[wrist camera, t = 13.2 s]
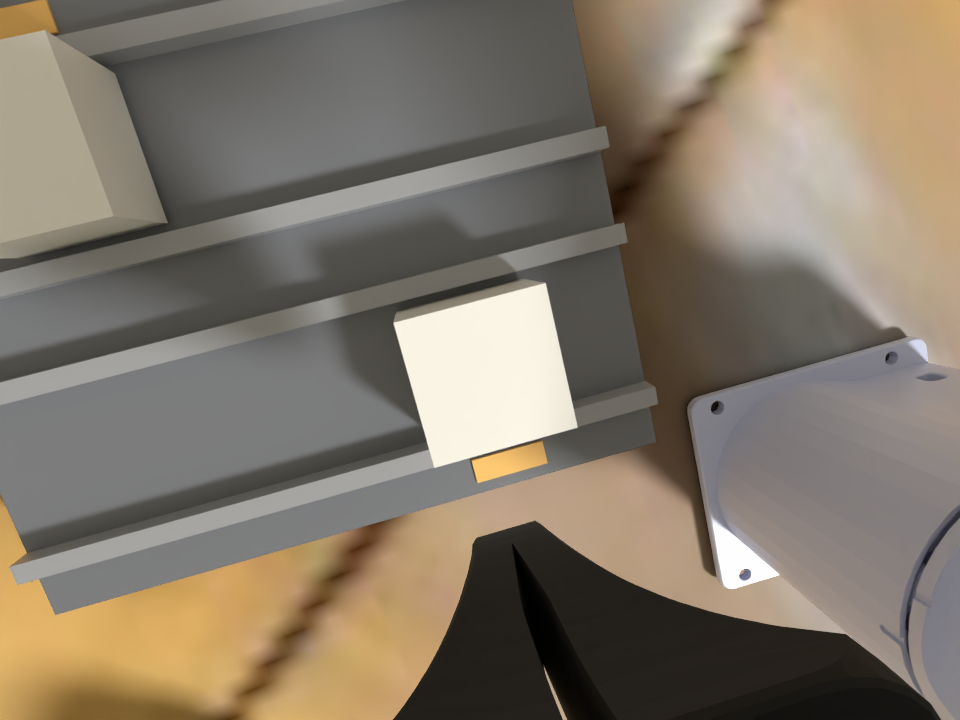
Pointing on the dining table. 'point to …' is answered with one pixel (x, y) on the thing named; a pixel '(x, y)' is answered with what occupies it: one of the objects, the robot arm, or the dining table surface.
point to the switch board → (300, 278)
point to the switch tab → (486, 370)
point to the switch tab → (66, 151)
